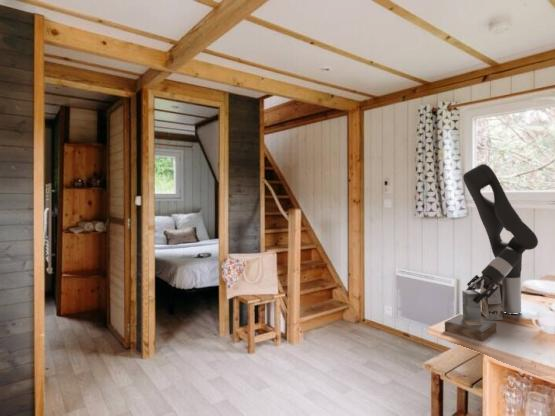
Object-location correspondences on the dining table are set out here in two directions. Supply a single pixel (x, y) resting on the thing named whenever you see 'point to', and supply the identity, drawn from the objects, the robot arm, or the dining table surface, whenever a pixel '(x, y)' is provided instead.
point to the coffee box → (493, 305)
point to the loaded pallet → (471, 308)
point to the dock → (470, 328)
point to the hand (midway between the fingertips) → (469, 298)
